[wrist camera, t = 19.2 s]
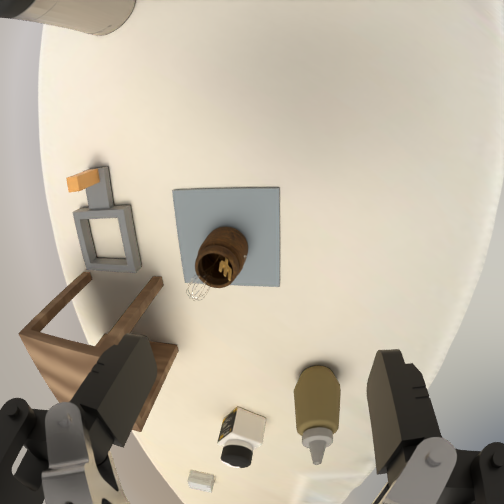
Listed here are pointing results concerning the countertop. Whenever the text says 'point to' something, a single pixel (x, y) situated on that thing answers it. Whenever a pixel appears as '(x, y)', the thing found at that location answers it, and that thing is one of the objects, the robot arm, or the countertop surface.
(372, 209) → the countertop surface
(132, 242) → the sliding frame
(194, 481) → the small box
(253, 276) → the slate mat
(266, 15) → the countertop surface
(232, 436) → the medicine bottle
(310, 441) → the squeeze bottle
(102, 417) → the robot arm
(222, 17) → the countertop surface
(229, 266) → the utensil holder
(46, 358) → the walnut shelf
